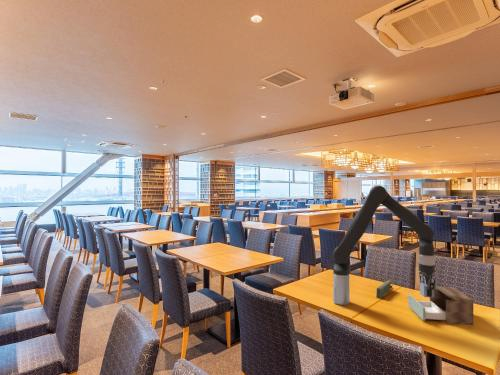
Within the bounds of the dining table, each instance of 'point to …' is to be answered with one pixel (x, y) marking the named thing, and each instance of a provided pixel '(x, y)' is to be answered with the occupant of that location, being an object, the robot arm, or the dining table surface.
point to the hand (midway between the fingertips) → (427, 294)
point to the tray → (426, 309)
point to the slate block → (424, 290)
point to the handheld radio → (383, 289)
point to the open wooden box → (454, 305)
